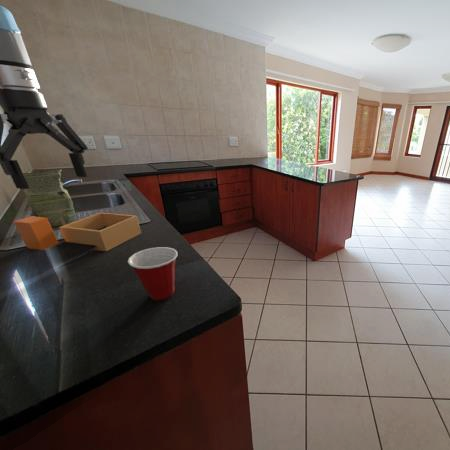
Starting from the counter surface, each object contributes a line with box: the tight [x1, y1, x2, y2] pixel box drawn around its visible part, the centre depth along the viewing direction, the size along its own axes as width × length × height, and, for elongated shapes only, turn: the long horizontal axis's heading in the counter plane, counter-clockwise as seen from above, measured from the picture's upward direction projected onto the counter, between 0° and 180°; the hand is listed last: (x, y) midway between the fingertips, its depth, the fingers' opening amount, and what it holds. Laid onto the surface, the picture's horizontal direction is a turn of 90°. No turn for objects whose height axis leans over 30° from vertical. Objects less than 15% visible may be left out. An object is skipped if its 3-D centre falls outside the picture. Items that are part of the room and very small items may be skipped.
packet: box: [12, 215, 60, 251], centre depth 82 cm, size 7×5×12 cm
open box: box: [59, 212, 142, 252], centre depth 92 cm, size 18×16×8 cm
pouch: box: [18, 168, 77, 231], centre depth 97 cm, size 11×12×25 cm
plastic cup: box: [127, 246, 179, 301], centre depth 62 cm, size 11×11×12 cm
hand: (55, 182), depth 62 cm, fingers open, 13 cm apart
